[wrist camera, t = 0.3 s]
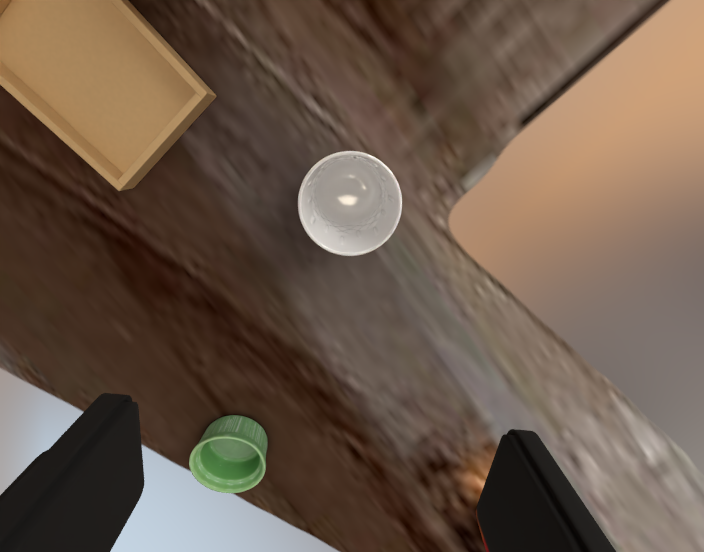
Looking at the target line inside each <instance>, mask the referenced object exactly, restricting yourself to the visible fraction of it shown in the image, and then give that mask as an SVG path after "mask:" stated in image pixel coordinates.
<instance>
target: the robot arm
mask: <svg viewBox="0 0 704 552" xmlns="http://www.w3.org/2000/svg"><path fill="white" fill-rule="evenodd" d="M143 487H144V472H143V460H142V448H141V434H140V422H139V409H138V404H137V402H132V398H131V397H130V396H129V395H120V394H109V393H104V394H101V395H100V396H99V397H98V398H97V399H96V400H95V401H94V402H93V403H92V404H91V405H90V406H89V407H88V408H87V410H86V411H85V412H84V413H83V414H82V415H81V416H80V417H79V418H78V419H77V420H76V421H75V422H74V423H73V424H72V425H71V426H70V428H69V429H68V430H67V431H66V432H65V433H64V434H63V435H62V436H61V437H60V438H59V439H58V440H57V442H56V443H55V444H54V445H53V446H52V447H51V448H50V449H49V450H47V451H45V452H43V453H42V454H40V455H39V456H38V457H37V458H36V459H35V460H34V461H33V462H32V463H31V464H30V465H29V466H28V467H27V468H26V469H25V470H24V471H23V472H22V473H21V474H20V475H19V476H18V477H17V479H16V480H15V481H14V482H13V483H12V484H11V485H10V486H9V487H8V488H7V489H6V490H5V491H4V492H3V493H2V494H1V495H0V552H110V551H111V549H112V547H113V545H114V543H115V542H116V540H117V538H118V536H119V535H120V533H121V531H122V529H123V527H124V526H125V524H126V522H127V520H128V518H129V517H130V515H131V513H132V511H133V510H134V508H135V506H136V504H137V502H138V501H139V498H140V496H141V494H142V491H143ZM477 519H478V522H479V525H480V528H481V531H482V533H483V536H484V539H485V542H486V544H487V547H488V550H489V552H616V551H615V550H614V548H613V547H612V545H611V544H610V542H609V541H608V539H607V538H606V536H605V535H604V533H603V532H602V530H601V529H600V527H599V526H598V524H597V523H596V521H595V520H594V518H593V517H592V515H591V514H590V512H589V511H588V509H587V508H586V506H585V505H584V503H583V502H582V500H581V499H580V497H579V496H578V494H577V493H576V491H575V490H574V488H573V487H572V486H571V484H570V483H569V481H568V480H567V478H566V477H565V475H564V474H563V472H562V471H561V469H560V468H559V466H558V465H557V463H556V462H555V460H554V459H553V457H552V456H551V454H550V453H549V451H548V450H547V448H546V447H545V445H544V444H543V442H542V441H541V439H540V438H539V436H538V435H537V434H536V433H535V432H533V431H526V430H514V429H512V430H510V431H508V433H507V435H503V436H502V438H501V440H500V443H499V446H498V449H497V451H496V454H495V457H494V460H493V463H492V465H491V468H490V471H489V474H488V477H487V479H486V482H485V485H484V488H483V491H482V493H481V496H480V499H479V502H478V505H477Z"/></svg>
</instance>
